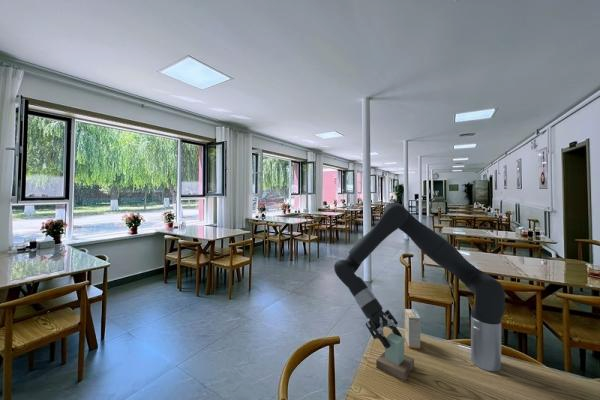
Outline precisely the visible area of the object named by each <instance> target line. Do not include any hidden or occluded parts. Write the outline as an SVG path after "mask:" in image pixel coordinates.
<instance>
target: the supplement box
mask: <svg viewBox="0 0 600 400" xmlns="http://www.w3.org/2000/svg"><path fill="white" fill-rule="evenodd" d="M404 340H405V341H406V344H407V346H408V347H407V348H409V349H416V350H420V349H421V317H420V315H419V313H418V311H417V310H416V309H412V308H411V309H410V308H405V309H404Z"/></svg>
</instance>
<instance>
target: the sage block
mask: <svg viewBox="0 0 600 400" xmlns="http://www.w3.org/2000/svg"><path fill="white" fill-rule="evenodd" d="M385 337H386V339H387V340H388V342H389V343H390V345H391V346H390V347H389V348H387V349H386V348H385V347H384V352H385V360H387V361H389V362H391V363H394V364H396V365H398V366H399V365H400V363H401V362H402V361H403V360H404V355H405V337H403V336H402V337H400V336H398V335H395V334H394V333H393V332H391V333H390V334H388V335H387V336H385Z"/></svg>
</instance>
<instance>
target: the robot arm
mask: <svg viewBox="0 0 600 400" xmlns="http://www.w3.org/2000/svg"><path fill="white" fill-rule="evenodd" d="M382 213H383V214H382V216H381V217H380V219H379V220H378V222H376V224H375V225H374V226H373V227H372V229H370V230H369V231H368V232H367V233H366V234H365V235H363V236H362V237H361V238H360V239H359V240H358V241H357V242H356V243H355V244H354V245H353V247H351V248H350V250H349V252H348V253H349V255H348V256H347V257H346V258H345V259H339V260H336V261H335V263H334V264H333V265H334V267H333V269H334V272H335V274H336V276H337V278H338V279H339V280H340V281H341V282H342V283H343V284H344V285H345V286H346V288H348V290H349V292H350V293H351V295H352V296H353V298H354V299H355V303H356V304H357V305H358V306H359V308H360V310H361V311H362V313H363V315H364V316H365V318H367V319H369V320H368V321H367V322H365V326H366V328H367V330H368V331H369V333H370V334H371V337H372V338H373V339H374V340H376V339H377V340H379V341H380V342H381V344H382V346H383V347H384V349H385V348H386V349H387V348H389V347H390V346H391V345H390V343H389V342H388V340H387V339H386V337H387V336H385V335H384V328H388V329H390V330H391V333H393V334H395V335H398V336H400V337H403V335H402V334H401V332H400V330H399V329H398V328H397V325H398V324H399V323H398V321H397V320H396V318H395V317H394V315H393V314H392V312H391V311H390V310H389V309H387V310H385V311H383V305H381V303H380V302H379V300H378V299H377V297H376V296H375V294H374V293H373V292H372V290H371V289H370V288H369V286H368V285H367V284H366V282H365V281H364V280H363V279H362V278H361V277H360V276H357V275H356V272H357V271H358V270H359V268H360V267H361V266H362V263H363V262H364V261H365V260H366V259H367V258H368V257H369V256H370V255H371V254H372V253H373V252H374V250H376V248H378V246H379V245H380V244H382V242H383V241H384V240H385V239H386V238H387V237H389V236H390V235H392V233H394V232H395V231H397V230H398V229H399V230H400V231H402V232H403V233H404V234H405V235H406V236H407V237H409V239H410V240H411V241H412V242H413V243H414V244H415V245H416V247H417V248H419V249H420V251H421V252H423V253H424V255H425V256H427V257H428V258H429V259H431V260H432V261H433V262H434V263H436V264H437V265H438V266H440V267H442V268H443V269H445V270H446V271H448V272H449V273H451V274H453V275H454V276H455V277H456V278H458V279H459V280H460V281H461V283H463V284H464V286H466V287H467V288H468V289H469V290H470V292H471V293H472V294H473V295H474V296H475V297H474V298H475V299H474V306H472V308H471V310H470V360H471V362H472V364H474V365H475V367H478V368H479V369H482V370H485V371H487V372H500V371H501V370H502V319H503V317H504V315H505V305H506V292H505V288H504V286H503V284H502V283H501V282H500V281H498V280H497V279H496V278H494V277H492V276H491V275H489V274H487V273H486V272H484V271H482V270H480V269H479V268H477V267H476V266H475V265H473V264H471V263H470V262H469V261H468V260H467V259H466V258H465V257H464V256H463V255H462V254H461V252H459V250H458V249H457V248H455V246H454V245H453V244H451V243H450V242H449V241H447V240H446V239H445V238H444V237H442V236H441V235H440V234H438V233H437V232H435V231H434V230H433V229H431V228H430V227H428V226H427V225H425V224H423V223H422V222H421V221H420V220H418V219H417V218H416V217H415V216H414V215H412V213H410V211H408V209H407V208H406V207H405V206H404V205H403V204H402V203H399V202H389V203H388V204H386V206H384V207H383V211H382Z"/></svg>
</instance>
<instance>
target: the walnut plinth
mask: <svg viewBox="0 0 600 400" xmlns="http://www.w3.org/2000/svg"><path fill="white" fill-rule="evenodd" d="M375 361H376V363H375V365H376V367H375V368H376V369H378V370H380V371H382V372H383V373H386V374H387V375H389V376H392V377H393V378H395V379H398V380H400V381H402V382H405V380H406V379H407V377H408V376H409V375H410V373H411V371H412V370H413V369H414V368H415V358H413V357H410V356H408V355H405V354H404V360H403V361H402V362H401V363H400V365H399V366H398V365H396V364H394V363H391V362H389V361H387V360H385V351H384V352H383V353H382V354H381V355H379V356H378V357H377V359H376V360H375Z"/></svg>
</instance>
